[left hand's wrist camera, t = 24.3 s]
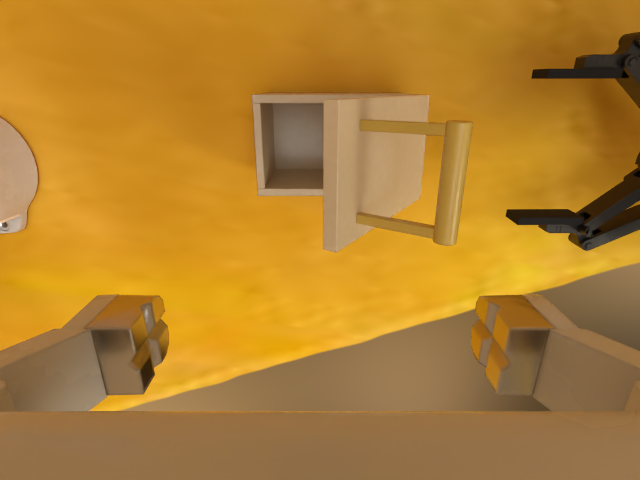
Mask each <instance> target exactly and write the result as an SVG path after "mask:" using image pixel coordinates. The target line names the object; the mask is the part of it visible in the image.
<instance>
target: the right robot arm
mask: <svg viewBox="0 0 640 480" xmlns="http://www.w3.org/2000/svg"><path fill="white" fill-rule="evenodd" d="M532 78H615V79H616V80H617V81H618V82H619V84H620V85H621V86H622V87H623V89H624V90H625V91H626V92H627V93H628V95H629V96H630V97H631V98H632V99H633V101H634V102H635V103H636V104H637V106H638V107H639V108H640V32H636V33H630V34H625V35H623V36H622V37H621V38H620V40H619V48H618V49H617V51H616V52H615V53H613V54H612V55H583V56H580V57H577V58H576V61H575V65H574V69H538V70H533V73H532ZM635 164H638V168H637V169H635V170H634V171H632V172H631V173H629V174H628V175H626V176H625V177H624V181H623V182H621V183H620V184H618V185H617V186H615V187H614V188H612V189H611V190H609V191H608V192H606V193H605V194H603V195H602V196H600V197H599V198H597V199H596V200H594V201H593V202H591V203H590V204H588V205H587V206H585V207H584V208H583V209H581V210H580V211H578V212H577V213H574V212H572V211H570V210H568V209H516V210H507V212H506V217H507V218H509V219H510V220H512V221H513V222H514V223H516V224H517V225H539V226H538V227H540V228H541V229H543V230H544V231H546V232H549V233H570V235H569V237H568V239H569V241H571V242H572V243H574V244H575V245H577V246H579V247H580V248H582V249H583V250H586V251H588V250H591V249H593V248H596V247H598V246H601V245H603V244H605V243H608V242H610V241H613V240H615V239H618V238H620V237H622V236H625V235H627V234H630V233H632V232H635V231H637V230H639V229H640V205H636V206H634V207H631V208H629V207H630V206H632V205H633V204H635V203H636V202H638V201H639V200H640V153H639V154H638V156H637V159H636V163H635ZM627 208H629V209H627ZM625 209H626V210H625Z"/></svg>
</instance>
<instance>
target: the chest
mask: <svg viewBox="0 0 640 480" xmlns="http://www.w3.org/2000/svg"><path fill="white" fill-rule="evenodd" d="M403 95H420V94H408V93H262V94H253V95H252V103H253V104H252V105H253V122H254V139H255V155H256V172H257V188H258V189H257V190H258V196H323V138H324V99H339V98H360V97H382V96H403Z"/></svg>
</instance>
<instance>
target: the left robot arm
mask: <svg viewBox="0 0 640 480" xmlns="http://www.w3.org/2000/svg"><path fill="white" fill-rule="evenodd" d="M37 186H38V171H37V166H36V162H35V159H34V156H33V154H32V152H31V150H30V148H29V146H28V145H27V143H26V142H25V140H24V139H23V138H22V136H21V135H20V134H19V133H18V132H17V131H16V130H15V129H14V128H13V127H12V126H11V125H10V124H9V123H8V122H6V121H5V120H4V119H2V118H1V117H0V234H3V233H14V232H18V231H21V230H23V229H25V227H26V224H27V210H28V207H29V205H30V203H31V202H32V200H33V198H34V196H35V194H36V190H37ZM5 222H6V223H7V225H8V226H7V225H6V224H5ZM164 312H165V308H164V303H163V299H162V298H161V297H160V296H151V295H98V296H96V297H95V298H94V299H93V300H92V301H91V302H90V303H89V304H87V305H86V306H85V307H84V308H83V309H82V310H81V311H80V312H79V313H78V314H77V315H75V316H74V317H73V318H72V319H71V320H70V321H69V322H68V323H67V324H66V325H65V326H64V327H62V328H61V329H53V330H51V331H48V332H46V333H43V334H41V335H38V336H36V337H33V338H31V339H29V340H26V341H24V342H21V343H19V344H16V345H14V346H11V347H9V348H7V349H4V350H2V351H0V480H640V351H638V350H636V349H633V348H631V347H628V346H626V345H623V344H621V343H619V342H616V341H614V340H611V339H609V338H606V337H604V336H601V335H599V334H597V333H594V332H592V331H589V330H587V329H579V328H578V327H576V326H575V325H574V324H573V323H572V322H571V321H570V320H569V319H568V318H567V317H566V316H565V315H563V314H562V313H561V312H560V311H559V310H558V309H557V308H556V307H555V306H554V305H553V304H552V303H550V302H549V301H548V300H547V299H546V298H545V297H544V296H542V295H538V294H537V295H497V296H480V297H479V298H478V300H477V302H476V308H475V312H476V314H477V315H478V317H479V318H480V319H479V320H478V321H477V322H476V323H475V324H474V325H473V326H472V333H471V343H472V350H473V353H474V356H475V358H476V360H477V361H478V363H480V364H481V365H483V366H485V367H486V373H485V375H486V377H487V379H488V381H489V382H490V384H491V386H492V387H493V389H494V391H495V392H496V394H504V395H533V397H534V398H535V399H536V400H538V401H539V402H540V403H542V404H543V405H544V406H546V407H547V408H548V409H550V410H551V411H89V410H90V409H92V408H93V407H94V406H96V405H97V404H98V403H100V402H101V401H102V400H104V399H105V398H106V397H107V395H136V394H144V393H145V391H146V389H147V387H148V386H149V384H150V382H151V381H152V379H153V377H154V375H155V373H154V367H155V366H157V365H159V364H160V363H162V361H163V360H164V358H165V356H166V353H167V349H168V345H169V332H168V326H167V325H166V324H165V323H164V322H163V321H162V320H161V319H160V318H161V317H162V315H163V314H164Z"/></svg>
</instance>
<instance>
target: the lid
mask: <svg viewBox="0 0 640 480" xmlns="http://www.w3.org/2000/svg"><path fill="white" fill-rule="evenodd" d="M429 100H430V95H403V96H382V97H360V98H339V99H324V138H323V249H324V250H328V251H332V252H338V251H339V250H341V249H342V248H344V247H345V246H347V245H349V244H350V243H352V242H353V241H355V240H356V239H358V238H359V237H361V236H362V235H364V234H366V233H367V232H369V231H370V230H372V229H373V228H375V227H377V228H382V229H387V230H392V231H397V232H402V233H407V234H412V235H417V236H422V237H427V238H432V239H433V241H434V242H435V243H437V244H440V245H446V246H450V245H455V244H456V243H457V236H458V228H459V221H460V214H461V207H462V199H463V192H464V185H465V177H466V170H467V163H468V156H469V148H470V141H471V134H472V127H473V122H472V121H459V120H453V121H446V123H434V122H427V121H428V111H429ZM426 135H434V136H445V137H444V146H443V154H442V163H441V172H440V181H439V190H438V198H437V207H436V216H435V225H434V226H433V225H428V224H423V223H417V222H412V221H406V220H401V219H395V218H390V217H392V216H393V215H395V214H396V213H398V212H400V211H401V210H403V209H404V208H406V207H407V206H409V205H410V204H412V203H413V202H415V201H417V200H418V199H420V194H421V183H422V173H423V163H424V152H425V142H426Z"/></svg>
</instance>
